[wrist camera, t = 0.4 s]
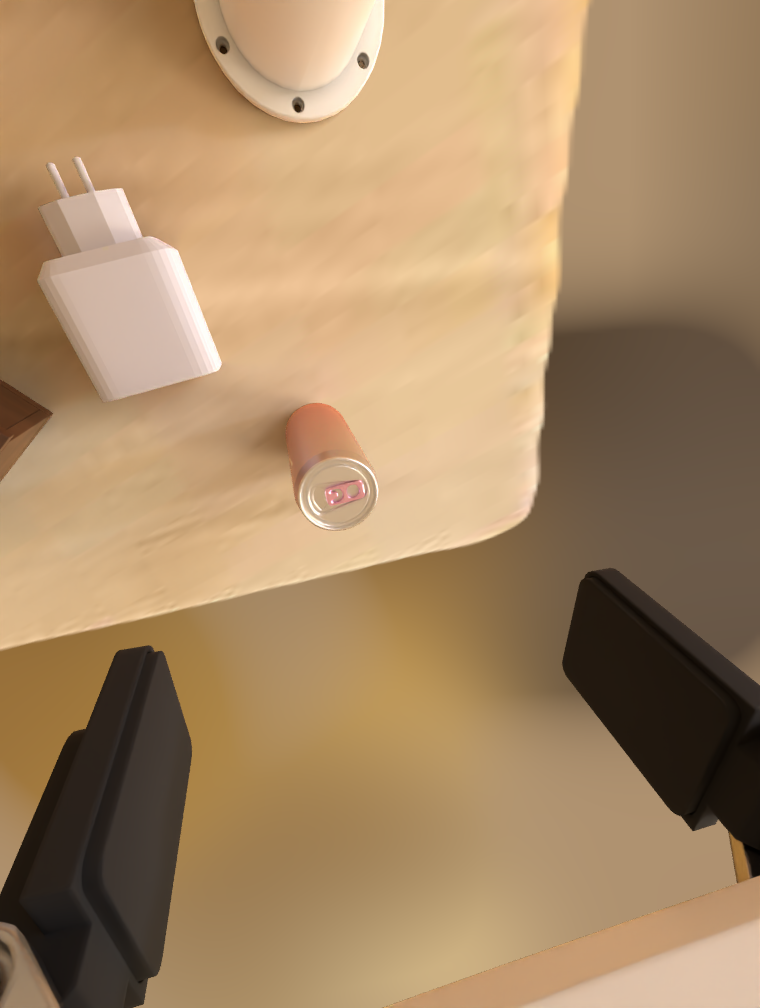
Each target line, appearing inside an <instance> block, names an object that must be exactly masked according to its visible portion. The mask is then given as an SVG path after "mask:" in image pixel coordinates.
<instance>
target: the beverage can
mask: <svg viewBox="0 0 760 1008" xmlns="http://www.w3.org/2000/svg"><path fill="white" fill-rule="evenodd" d="M285 435H286V443H287V449H288V456H289V462H290V469H291V475H292V482H293V489H294V495H295V500H296V503H297V505H298V507H299V508H300V510H301V511H302V513H303V515H304V516H305V517H306V518H307V519H308V520H309V521H310V522H311V523H312V524H314V525H315V526H317V527H319V528H322V529H325V530H331V531H340V530H346V529H349V528H352V527H354V526H356V525H358V524H360V523H361V522H363V521H364V520H365V519H366V518H367V517H368V516H369V515H370V513H371V512H372V511H373V509H374V507H375V505H376V502H377V498H378V485H377V478H376V474H375V472H374V469H373V468H372V466H371V464H370V462H369V461H368V459H367V457H366V456H365V454H364V452H363V451H362V449H361V447H360V445H359V444H358V442H357V440H356V439H355V437H354V435H353V434H352V432H351V430H350V428H349V427H348V425H347V423H346V422H345V420H344V418H343V417H342V415H341V414H340V413H339V412H338V411H337V410H336V409H334V408H333V407H331V406H329V405H326V404H322V403H312V404H307V405H305V406H302V407H301V408H299V409H298V410H296V411H295V412H294V413H293V414H292V415H291V417H290V418H289V420H288V422H287V426H286V431H285Z"/></svg>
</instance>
